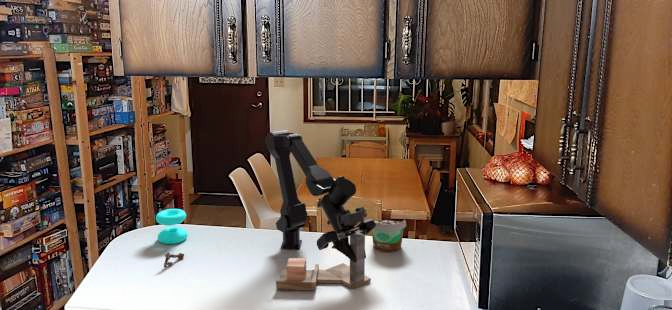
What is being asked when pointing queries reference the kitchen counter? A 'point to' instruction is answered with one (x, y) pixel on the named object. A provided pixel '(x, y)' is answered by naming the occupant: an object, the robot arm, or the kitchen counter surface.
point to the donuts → (171, 233)
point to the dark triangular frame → (179, 256)
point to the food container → (388, 235)
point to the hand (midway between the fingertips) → (360, 260)
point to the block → (296, 269)
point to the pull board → (332, 271)
